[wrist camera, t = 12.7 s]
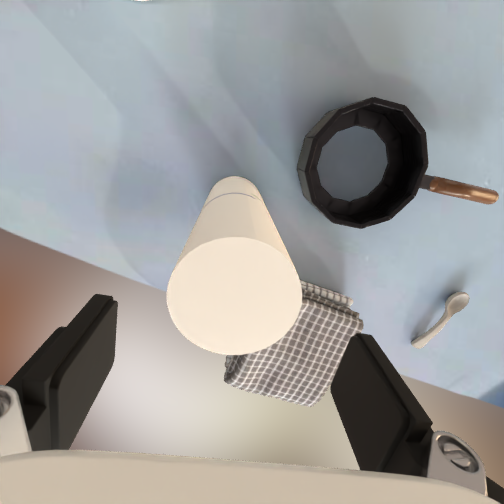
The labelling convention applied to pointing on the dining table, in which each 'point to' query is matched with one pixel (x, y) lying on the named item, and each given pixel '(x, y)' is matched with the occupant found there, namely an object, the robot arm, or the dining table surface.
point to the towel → (300, 351)
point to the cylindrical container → (234, 275)
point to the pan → (396, 174)
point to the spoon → (443, 317)
